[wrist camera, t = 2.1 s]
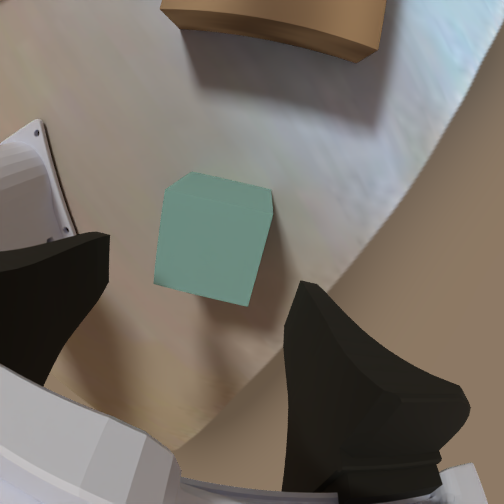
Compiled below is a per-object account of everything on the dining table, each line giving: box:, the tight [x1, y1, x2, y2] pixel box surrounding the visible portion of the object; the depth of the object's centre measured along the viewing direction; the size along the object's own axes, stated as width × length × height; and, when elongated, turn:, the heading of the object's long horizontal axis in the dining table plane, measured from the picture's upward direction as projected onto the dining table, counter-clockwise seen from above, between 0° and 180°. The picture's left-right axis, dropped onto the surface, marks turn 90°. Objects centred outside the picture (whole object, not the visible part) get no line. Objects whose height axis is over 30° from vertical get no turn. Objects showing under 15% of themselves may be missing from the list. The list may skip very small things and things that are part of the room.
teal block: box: [154, 172, 273, 307], centre depth 16 cm, size 5×5×5 cm
